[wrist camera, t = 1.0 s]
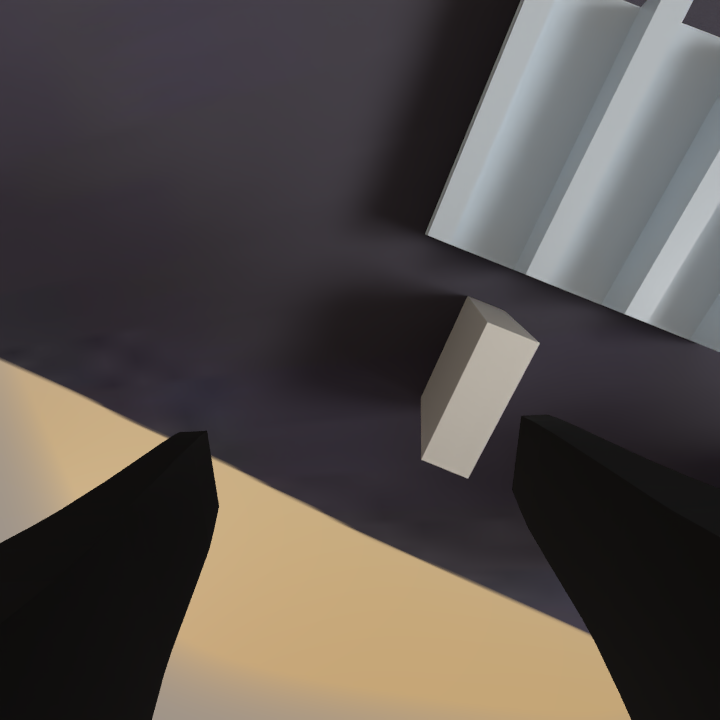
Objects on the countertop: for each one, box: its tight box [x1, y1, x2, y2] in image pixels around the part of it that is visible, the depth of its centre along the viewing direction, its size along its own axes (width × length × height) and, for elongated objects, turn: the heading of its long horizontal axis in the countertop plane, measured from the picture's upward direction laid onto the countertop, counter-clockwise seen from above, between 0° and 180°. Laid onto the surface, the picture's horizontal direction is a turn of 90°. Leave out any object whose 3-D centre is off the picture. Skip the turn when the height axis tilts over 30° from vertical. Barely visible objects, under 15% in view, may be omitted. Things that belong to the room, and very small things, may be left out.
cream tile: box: [421, 296, 540, 478], centre depth 20 cm, size 2×6×7 cm, turn 159°
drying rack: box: [425, 0, 720, 352], centre depth 18 cm, size 14×11×4 cm
